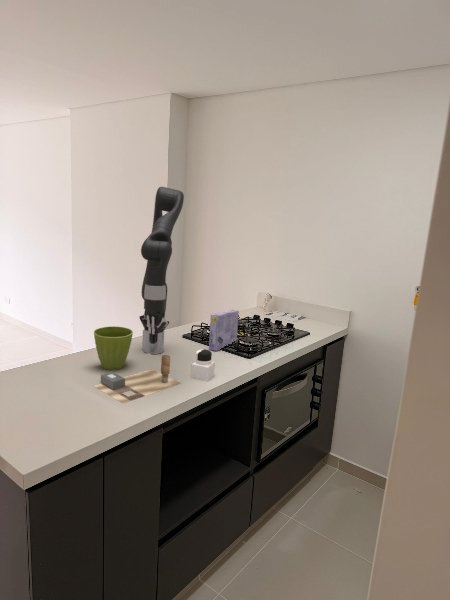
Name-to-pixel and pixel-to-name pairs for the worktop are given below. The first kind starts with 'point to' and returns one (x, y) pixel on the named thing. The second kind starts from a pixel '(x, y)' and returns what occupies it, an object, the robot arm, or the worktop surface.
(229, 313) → the cake pan box
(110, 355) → the flower pot
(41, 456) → the worktop surface
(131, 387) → the subfloor panel
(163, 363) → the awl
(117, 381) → the block
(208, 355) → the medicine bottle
